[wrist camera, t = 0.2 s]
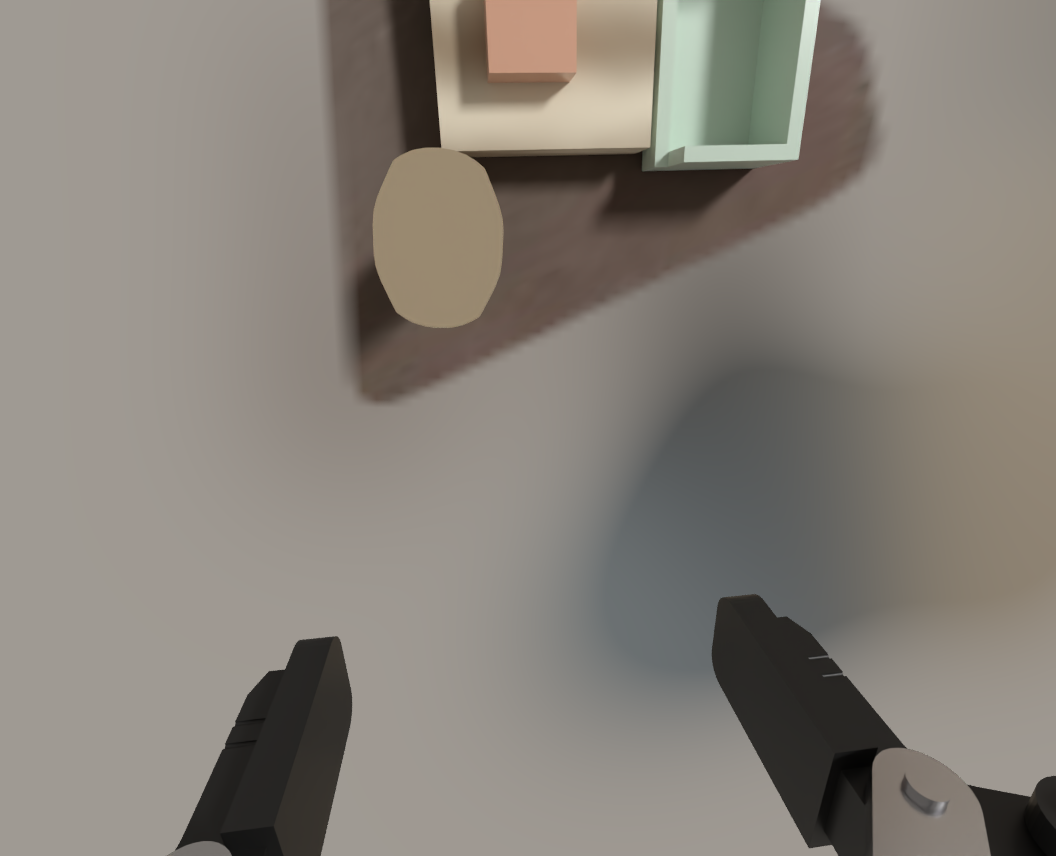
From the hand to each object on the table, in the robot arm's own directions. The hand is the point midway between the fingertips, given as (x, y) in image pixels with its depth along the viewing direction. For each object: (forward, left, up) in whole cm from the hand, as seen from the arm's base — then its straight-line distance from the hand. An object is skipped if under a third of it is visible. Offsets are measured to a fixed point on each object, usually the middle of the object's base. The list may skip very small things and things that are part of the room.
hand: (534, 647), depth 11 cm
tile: (-18, +3, -25) cm, 31 cm away
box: (-17, +14, -28) cm, 36 cm away
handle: (-8, -2, -28) cm, 29 cm away
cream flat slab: (-18, +4, -28) cm, 33 cm away
